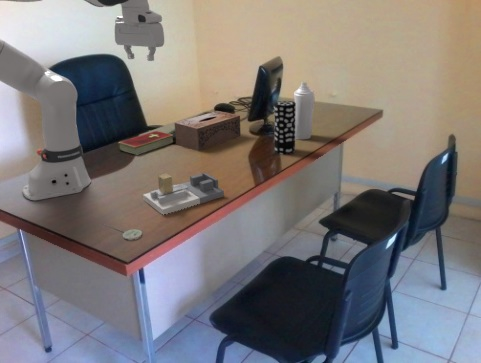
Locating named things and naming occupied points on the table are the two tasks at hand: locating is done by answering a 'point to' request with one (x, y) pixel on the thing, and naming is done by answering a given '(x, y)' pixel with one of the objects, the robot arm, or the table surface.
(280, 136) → the white-spotted black cylinder
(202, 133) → the tissue box cover
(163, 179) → the bolt
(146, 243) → the table surface
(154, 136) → the hardcover book
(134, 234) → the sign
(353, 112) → the table surface
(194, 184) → the plate
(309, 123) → the spray can
